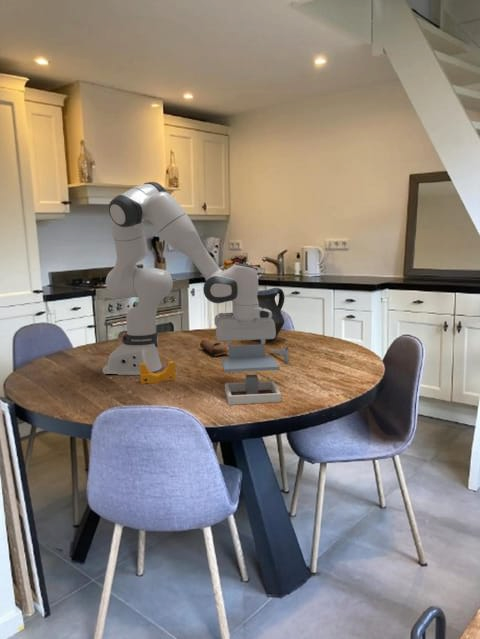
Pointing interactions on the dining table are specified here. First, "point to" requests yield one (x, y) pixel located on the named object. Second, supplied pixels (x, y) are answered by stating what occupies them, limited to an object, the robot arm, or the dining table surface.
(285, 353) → the caliper
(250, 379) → the dark grey block
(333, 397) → the dining table surface
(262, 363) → the lid
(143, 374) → the pipe clamp
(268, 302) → the pitcher
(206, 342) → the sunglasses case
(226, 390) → the frame
